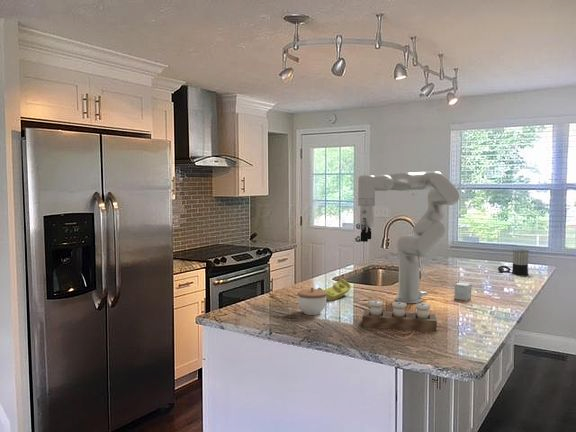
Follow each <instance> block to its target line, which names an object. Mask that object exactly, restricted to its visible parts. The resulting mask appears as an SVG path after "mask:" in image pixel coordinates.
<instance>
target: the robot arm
mask: <svg viewBox="0 0 576 432" xmlns="http://www.w3.org/2000/svg"><path fill="white" fill-rule="evenodd" d="M357 182H358V183H357V184H358V187H357V188H358V189H357V191H358V192H357V194H358V196H357V206H358V207H359V208H360V209H359V215H360V216H359V227H360V242H363V243H365V242H366V243H368V242H369V240H371V239H372V228H373V227H374V207H375V206H376V192H387V191H397V192H409V191H423V190H426V191H427V190H429V191H428V193H427V205H428V207H427V209H426V210H425V212H424V214H423V215H421V217H420V218H419V219H418V220H417V222H415V224H414V226H413V227H412V234H403V235H401V236H400V237H399V238H398V239H397V243H396V247H397V253H398V294H397V296H395V297H394V301H395V302H404V303H406V304H417V303H423V298H422V297H423V296H425V297H426V296H428V292H427V291H421V290H420V261H419V260H420V259H419V258H425V257H427V256H429V255H430V254H431V253H432V251H433V250H435V249H436V247H437V245H439V243H440V242H441V241H442V239H444V236H445V233H446V228H445V225H444V223H443V222H442V221H443V219H444V215H445V214H444V206H453V205H456V204H457V203H458V202H459V200H460V193H459V191H458V189H457V188H456V186H455V185H454V184H453V183H452V182H451V181H450V180H449V179H448V178H447V177H446V176H445V175H444V174H443V173H441V171H415V172H414V171H413V172H400V173H391V174H373V175H369V174H365V175H364V174H363V175H359V176H358V181H357Z"/></svg>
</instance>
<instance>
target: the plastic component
mask: <svg viewBox="0 0 576 432" xmlns="http://www.w3.org/2000/svg"><path fill="white" fill-rule="evenodd" d="M351 288H352V285H351V284H350V283H349V282H348V281H347V280H345V279H344V278H339V279H338V280H337V282H335V283H334V284H333V285H331V286H330V287H328V288H325V289H323V288H321V287H318V288H317V289H318V290H323V291H326V292H327V296H326V301H330V302H332V301H335V300H337V299H340V298H342V297H344V296H345V294H347V293H348V292H349V291H350V290H351Z"/></svg>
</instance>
